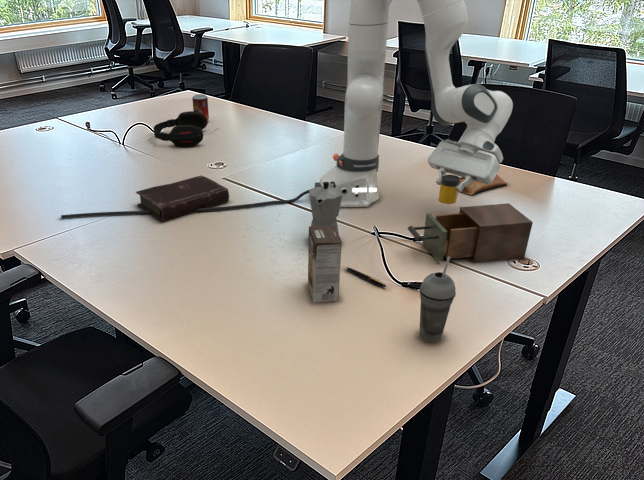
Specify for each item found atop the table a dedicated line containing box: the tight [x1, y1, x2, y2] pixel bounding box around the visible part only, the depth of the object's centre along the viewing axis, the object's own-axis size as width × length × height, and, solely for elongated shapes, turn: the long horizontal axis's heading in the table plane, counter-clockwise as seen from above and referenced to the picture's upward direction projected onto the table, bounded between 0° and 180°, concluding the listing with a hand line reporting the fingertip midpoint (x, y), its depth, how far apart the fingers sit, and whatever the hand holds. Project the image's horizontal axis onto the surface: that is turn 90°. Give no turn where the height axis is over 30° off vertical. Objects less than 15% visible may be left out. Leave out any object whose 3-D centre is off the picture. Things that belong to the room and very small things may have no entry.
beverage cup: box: [419, 256, 457, 344], centre depth 123 cm, size 7×7×20 cm
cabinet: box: [458, 202, 534, 264], centre depth 158 cm, size 14×13×11 cm
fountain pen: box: [344, 266, 387, 288], centre depth 150 cm, size 14×1×2 cm, turn 41°
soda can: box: [191, 93, 210, 121], centre depth 275 cm, size 7×7×12 cm
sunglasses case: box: [459, 174, 508, 196], centre depth 199 cm, size 18×7×7 cm, turn 120°
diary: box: [135, 175, 230, 222], centre depth 193 cm, size 19×25×5 cm
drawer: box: [407, 212, 479, 263], centre depth 157 cm, size 19×11×9 cm, turn 97°
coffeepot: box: [308, 181, 343, 241], centre depth 164 cm, size 15×9×18 cm, turn 159°
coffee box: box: [307, 225, 343, 303], centre depth 140 cm, size 9×6×16 cm
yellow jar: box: [437, 174, 461, 205], centre depth 169 cm, size 5×5×7 cm
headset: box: [153, 110, 218, 148], centre depth 253 cm, size 28×26×9 cm
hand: (448, 187), depth 168 cm, fingers closed on yellow jar, 5 cm apart
